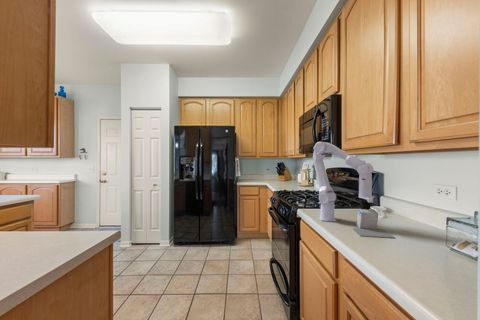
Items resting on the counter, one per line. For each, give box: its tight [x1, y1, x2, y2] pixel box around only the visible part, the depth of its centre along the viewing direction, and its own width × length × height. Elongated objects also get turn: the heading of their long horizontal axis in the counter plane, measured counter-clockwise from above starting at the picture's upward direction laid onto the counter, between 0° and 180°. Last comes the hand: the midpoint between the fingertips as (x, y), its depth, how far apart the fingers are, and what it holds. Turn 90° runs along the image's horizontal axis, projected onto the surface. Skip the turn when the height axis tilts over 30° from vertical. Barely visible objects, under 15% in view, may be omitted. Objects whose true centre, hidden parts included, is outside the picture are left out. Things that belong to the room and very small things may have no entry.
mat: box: [352, 227, 396, 239], centre depth 108 cm, size 11×14×1 cm
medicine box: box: [356, 208, 379, 229], centre depth 115 cm, size 8×4×9 cm, turn 84°
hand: (365, 214), depth 118 cm, fingers closed
